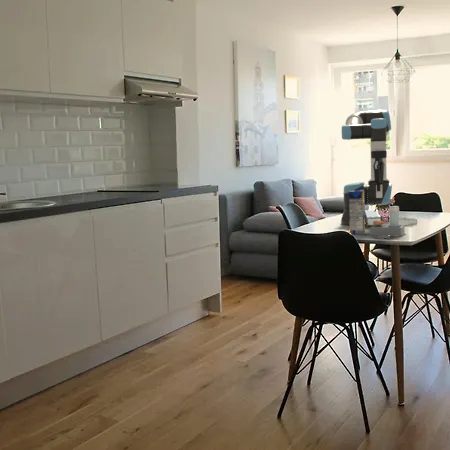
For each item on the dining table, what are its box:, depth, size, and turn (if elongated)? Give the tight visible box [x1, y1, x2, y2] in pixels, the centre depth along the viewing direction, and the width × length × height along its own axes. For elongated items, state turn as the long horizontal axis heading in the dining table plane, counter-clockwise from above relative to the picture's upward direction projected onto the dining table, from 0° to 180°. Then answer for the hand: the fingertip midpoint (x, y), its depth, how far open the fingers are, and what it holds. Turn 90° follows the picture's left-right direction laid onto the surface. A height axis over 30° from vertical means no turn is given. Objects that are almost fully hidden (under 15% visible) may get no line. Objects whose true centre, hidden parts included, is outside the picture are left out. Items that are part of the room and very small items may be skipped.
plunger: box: [372, 220, 384, 227], centre depth 301 cm, size 5×5×6 cm
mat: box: [372, 235, 394, 239], centre depth 289 cm, size 8×7×1 cm
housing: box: [369, 224, 405, 237], centre depth 299 cm, size 15×9×4 cm, turn 62°
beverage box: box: [348, 190, 366, 236], centre depth 306 cm, size 7×11×22 cm, turn 163°
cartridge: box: [389, 205, 400, 228], centre depth 297 cm, size 5×5×14 cm
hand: (379, 197), depth 298 cm, fingers closed
